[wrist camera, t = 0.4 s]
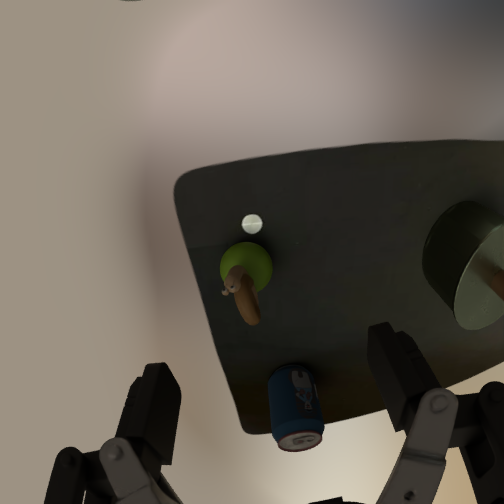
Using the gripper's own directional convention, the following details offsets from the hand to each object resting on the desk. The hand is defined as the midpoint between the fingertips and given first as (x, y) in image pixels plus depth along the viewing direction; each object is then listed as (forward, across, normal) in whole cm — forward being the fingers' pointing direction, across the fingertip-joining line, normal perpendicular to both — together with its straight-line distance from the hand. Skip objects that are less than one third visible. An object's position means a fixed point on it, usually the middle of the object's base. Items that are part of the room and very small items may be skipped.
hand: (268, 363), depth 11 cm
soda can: (+23, 0, +28) cm, 36 cm away
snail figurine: (+23, +2, +6) cm, 23 cm away
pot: (+22, -27, +12) cm, 37 cm away
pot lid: (+14, -27, +12) cm, 33 cm away
